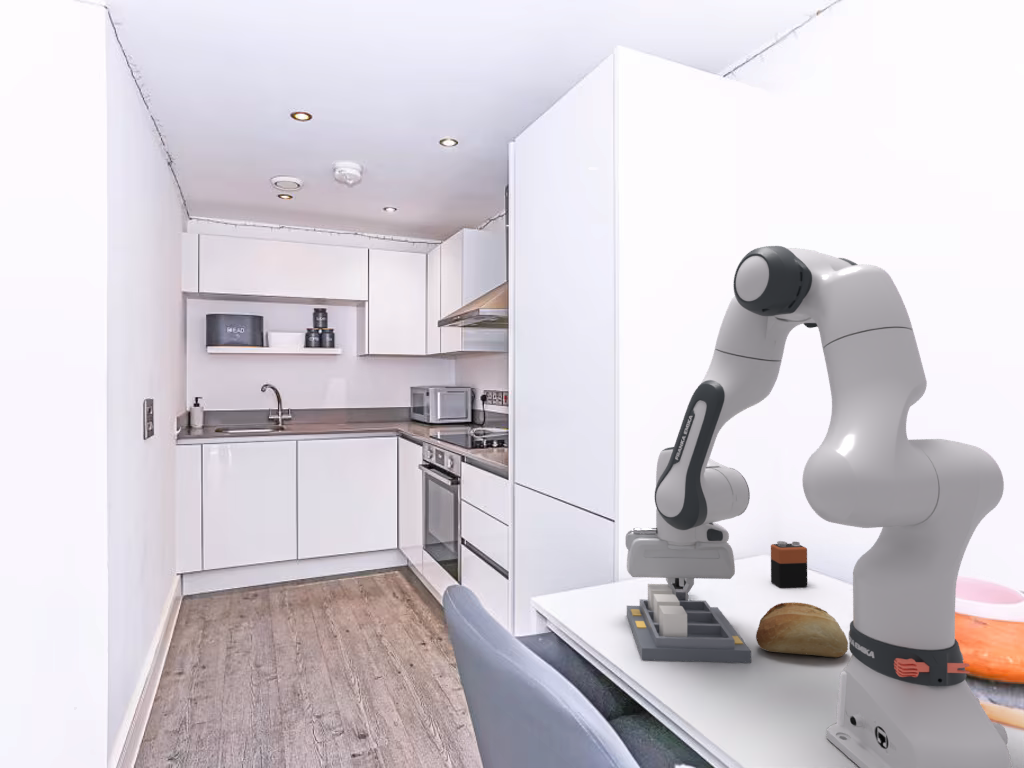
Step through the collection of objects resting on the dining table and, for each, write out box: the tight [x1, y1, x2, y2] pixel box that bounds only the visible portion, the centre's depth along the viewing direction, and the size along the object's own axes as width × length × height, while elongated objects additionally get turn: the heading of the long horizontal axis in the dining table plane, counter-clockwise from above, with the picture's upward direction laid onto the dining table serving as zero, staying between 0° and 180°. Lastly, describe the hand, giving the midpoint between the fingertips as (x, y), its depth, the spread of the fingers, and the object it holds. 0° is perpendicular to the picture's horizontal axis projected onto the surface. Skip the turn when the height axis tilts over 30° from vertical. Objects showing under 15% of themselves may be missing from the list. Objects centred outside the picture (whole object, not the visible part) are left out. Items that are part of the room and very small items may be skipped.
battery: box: [770, 540, 808, 589], centre depth 140 cm, size 4×7×10 cm, turn 96°
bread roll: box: [755, 601, 849, 658], centre depth 105 cm, size 10×15×8 cm, turn 86°
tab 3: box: [659, 606, 687, 637], centre depth 105 cm, size 4×4×5 cm
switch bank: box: [626, 598, 752, 664], centre depth 111 cm, size 20×18×4 cm
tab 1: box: [647, 583, 672, 611], centre depth 117 cm, size 4×4×5 cm
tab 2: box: [653, 594, 680, 623], centre depth 111 cm, size 4×4×5 cm
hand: (679, 599), depth 117 cm, fingers closed
